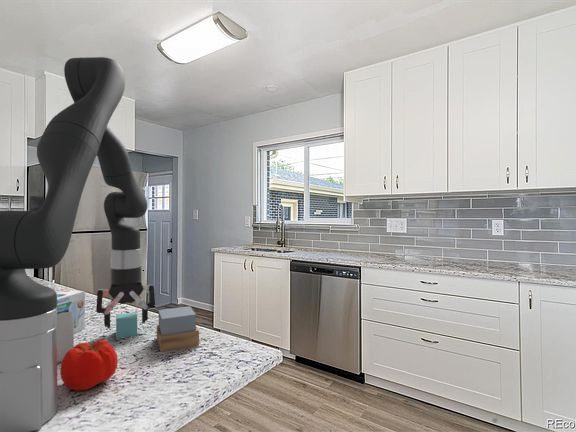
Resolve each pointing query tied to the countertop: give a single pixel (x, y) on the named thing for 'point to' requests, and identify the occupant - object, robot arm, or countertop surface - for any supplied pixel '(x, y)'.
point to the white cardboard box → (64, 334)
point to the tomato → (88, 365)
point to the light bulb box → (72, 307)
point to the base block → (177, 340)
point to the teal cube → (126, 325)
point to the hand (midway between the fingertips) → (126, 324)
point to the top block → (177, 320)
